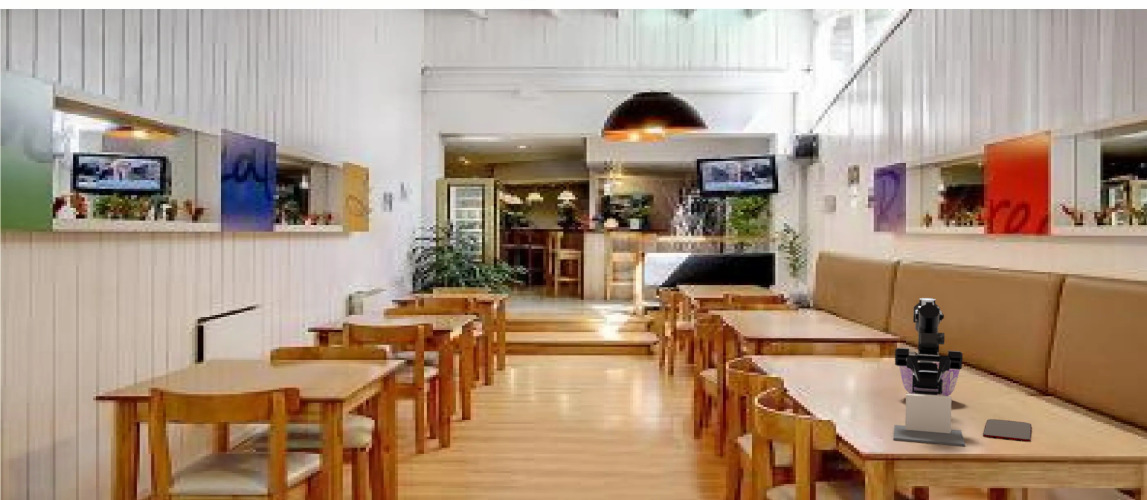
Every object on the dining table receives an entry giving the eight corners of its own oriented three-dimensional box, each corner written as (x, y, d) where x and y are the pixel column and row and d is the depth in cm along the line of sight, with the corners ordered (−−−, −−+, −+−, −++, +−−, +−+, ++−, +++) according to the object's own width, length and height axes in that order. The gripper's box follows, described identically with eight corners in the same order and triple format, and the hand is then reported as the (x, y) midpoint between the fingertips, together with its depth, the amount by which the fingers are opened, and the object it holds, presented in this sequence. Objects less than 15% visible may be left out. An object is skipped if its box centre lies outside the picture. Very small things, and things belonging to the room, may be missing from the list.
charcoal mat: (894, 426, 265) (894, 424, 265) (961, 432, 259) (961, 430, 259) (893, 440, 248) (893, 437, 248) (964, 446, 241) (964, 444, 241)
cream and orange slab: (905, 427, 262) (906, 393, 262) (950, 431, 258) (950, 396, 258) (905, 429, 259) (906, 394, 259) (950, 433, 255) (951, 398, 255)
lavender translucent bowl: (969, 404, 305) (970, 370, 304) (909, 403, 305) (910, 369, 305) (945, 394, 325) (946, 362, 324) (889, 393, 325) (890, 361, 325)
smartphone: (981, 434, 254) (986, 418, 276) (981, 439, 254) (986, 423, 276) (1030, 439, 248) (1031, 422, 270) (1030, 445, 248) (1031, 427, 270)
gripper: (895, 321, 274) (894, 362, 263) (963, 324, 267) (964, 366, 257) (895, 344, 281) (894, 385, 271) (960, 348, 275) (962, 389, 264)
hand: (928, 381), depth 266 cm, fingers open, 5 cm apart
